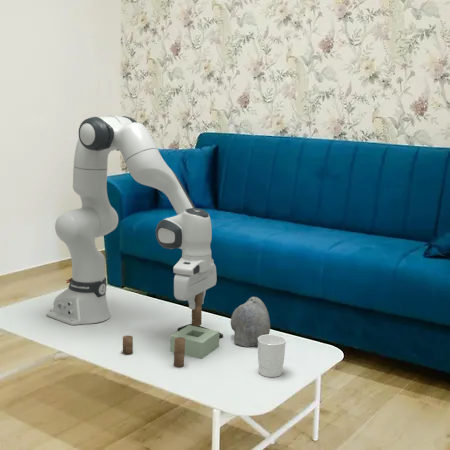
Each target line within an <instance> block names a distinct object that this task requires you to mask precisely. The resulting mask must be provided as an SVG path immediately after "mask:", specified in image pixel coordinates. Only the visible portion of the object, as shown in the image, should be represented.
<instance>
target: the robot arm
mask: <svg viewBox="0 0 450 450" xmlns="http://www.w3.org/2000/svg"><path fill="white" fill-rule="evenodd" d="M112 151H117V152H118V151H119V152H120V154H121V156H122V158H123V161H124V163H125V165H126V168H127V171H128V172H129V175H131V177H132V178H133V180H135V182H137V183H138V184H140V185H143V186H147V187H150V188H153V189H157V190H158V191H160V192H162V193H163V194H164V195H165V196H166V197H167V198H168V200H169V203H170V204H171V206H172V207H173V210H174V211H175V213H176V215H174V216H171V217H166V218H164V219H162V220H160V221H159V222H158V223H157V224H156V227H155V236H156V237H155V238H156V240H157V242H158V244H159V245H160V246H161V247H162V248H163V249H167V250H174V249H180V250H181V257H180V259H179V260H178V261H177V262H176V264H175V265H173V268H172V269H173V270H172V271H173V272H172V273H173V274H174V277H173V296H174V298H175V299H176V301H185V302H188V309H189V310H192V309H195V308H196V307H197V306H196V305H197V303H195V300H194V299H195V295H197V294H199V293H201V292H202V305H203V304H204V299H205V296H206V291H207V290H209V289H210V288H213V287H214V286H216V284H217V276H218V275H217V267H216V264H215V263H214V259H213V257H212V249H211V243H212V240H213V239H212V236H213V235H212V233H213V232H212V231H213V230H212V221H211V217H210V214H209V213H208V211H205V210H204V209H202V208H197V207H196V206H195V205H194V203H193V201H192V200H191V198H190V196H189V194H188V192H187V190H186V189H185V187H184V185H183V184H182V182H181V180H180V178H179V177H178V175H177V174H176V173H175V171H173V170H172V168H170V167H169V165H168V164H167V162H166V161H165V160H164V159H163V157H162V155H161V152H160V150H159V148H158V146H157V144H156V142H155V140H154V138H153V137H152V135H151V133H150V132H149V130H148V129H147V128H146V126H145V125H144V124H142V123H140V122H138V120H135V119H134V118H133V117H129V116H120V115H105V116H92V117H88V118H85V119H84V120H82V121H81V123H80V125H79V128H78V139H77V142H76V145H75V151H74V156H73V169H72V171H73V173H72V188H73V189H72V190H73V191H74V192H75V194H76V195H78V196H79V197H80V200H81V207H80V208H75V209H71V210H68V211H67V212H64V213H63V214H61V215H59V216H58V217H57V219H56V221H55V223H54V229H55V233H56V236H57V237H58V239H59V240H60V241H62V242H63V243H64V244H65V245H66V247H67V249H68V251H69V254H70V257H71V270H72V271H71V273H72V274H71V275H72V276H71V278H69V279H66V280H65V281H66V284H68V288H66V289H64V290H63V292H61V293H60V294H58V295H57V296H55V298H54V300H53V305H52V308H50V309H49V310H47V312H46V316H47V317H49V318H51V319H54V320H57V321H60V322H63V323H65V324H69V325H71V326H77V325H86V324H90V325H91V324H96V323H97V324H98V323H101V322H105V321H106V320H108V319H110V317H111V314H110V311H109V306H108V300H107V293H106V292H107V277H106V258H105V257H106V256H105V255H104V253H102V252H101V251H100V250H98V248H97V246H96V241H95V240H96V239H97V238H100V237H103V236H107V235H108V234H111V232H113V231H115V230H116V228H117V227H118V226H119V225H118V224H119V215H118V213H117V210H115V208H114V207H113V206H112V205H111V203H110V199H109V196H108V188H107V187H108V186H107V183H108V181H107V180H108V161H109V160H108V159H109V154H110V153H111V152H112Z"/></svg>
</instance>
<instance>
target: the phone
mask: <svg viewBox="0 0 450 450" xmlns="http://www.w3.org/2000/svg"><path fill="white" fill-rule="evenodd" d="M188 325H191V326H193V325H192V323H189V324H185V325H183V326H180V327H178V328H177V332H178V331H180V330H181V329H183V328H185V327H186V326H188ZM196 327H201V328H206V329H209V328H207V327H204V326H202V325H200V326H196ZM223 338H224V334H223V333H221V332H219V340H220V339H223Z"/></svg>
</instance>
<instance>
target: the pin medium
mask: <svg viewBox="0 0 450 450" xmlns="http://www.w3.org/2000/svg"><path fill="white" fill-rule="evenodd" d="M184 354H185V338H182V337H177V338H175V345H174V352H173V367H174V368H183V367H184V366H185V355H184Z"/></svg>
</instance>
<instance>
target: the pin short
mask: <svg viewBox="0 0 450 450" xmlns="http://www.w3.org/2000/svg"><path fill="white" fill-rule="evenodd" d="M133 337H134V336H133V335H124V336H122V354H123V355H125V356H130V355H132V354H133V353H134V346H133V345H134V340H133Z"/></svg>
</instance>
